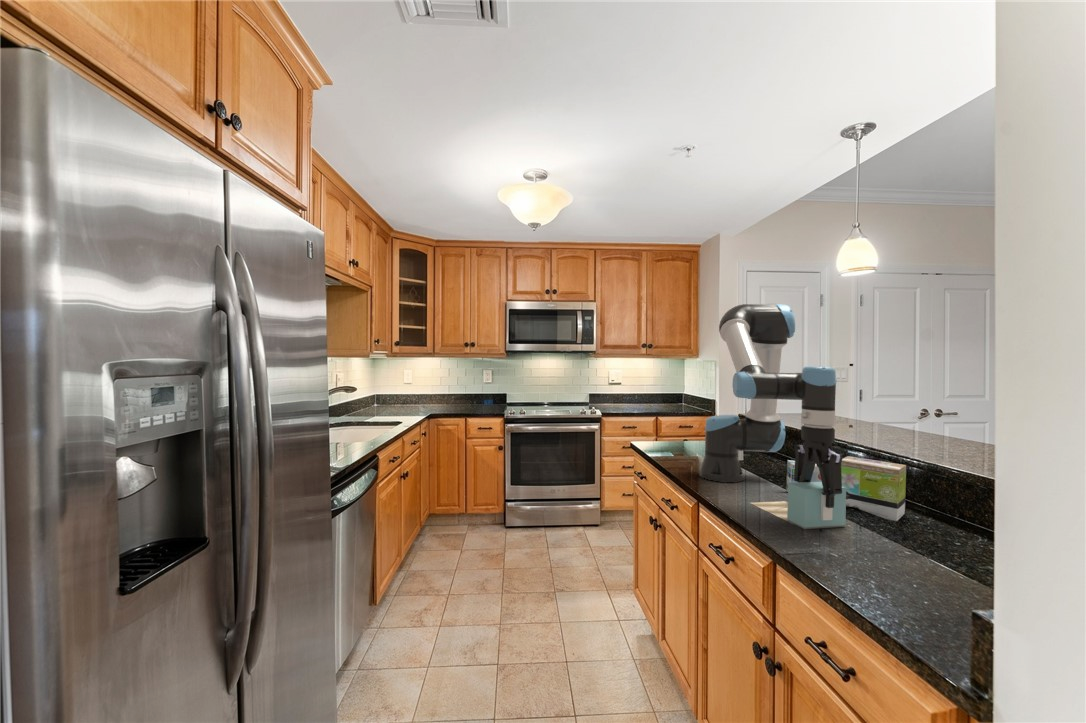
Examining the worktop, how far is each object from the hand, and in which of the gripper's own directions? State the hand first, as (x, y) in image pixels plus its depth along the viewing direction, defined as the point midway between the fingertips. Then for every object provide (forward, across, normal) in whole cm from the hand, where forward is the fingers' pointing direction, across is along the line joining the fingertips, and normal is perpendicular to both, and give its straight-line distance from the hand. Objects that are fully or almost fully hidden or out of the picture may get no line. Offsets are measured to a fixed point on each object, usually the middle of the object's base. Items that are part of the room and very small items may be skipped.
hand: (816, 515), depth 119 cm
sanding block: (+2, 0, 0) cm, 2 cm away
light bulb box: (+4, -28, +21) cm, 35 cm away
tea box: (+4, -11, +28) cm, 30 cm away
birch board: (+4, -10, 0) cm, 11 cm away
